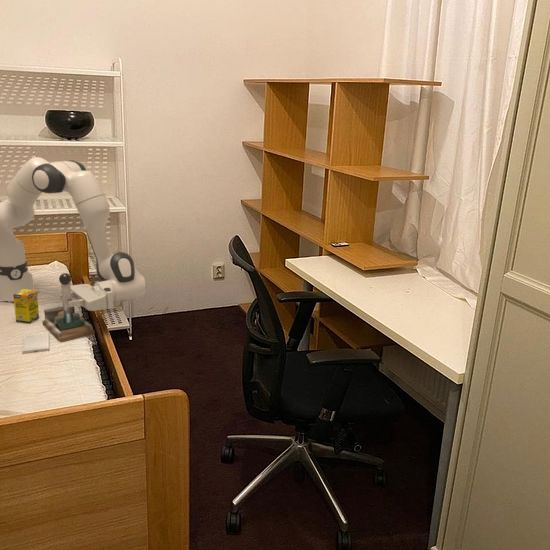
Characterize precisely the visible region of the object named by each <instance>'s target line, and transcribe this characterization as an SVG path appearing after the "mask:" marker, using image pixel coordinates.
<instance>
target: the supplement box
mask: <svg viewBox="0 0 550 550" xmlns="http://www.w3.org/2000/svg"><path fill="white" fill-rule="evenodd" d="M13 297H14V301H13V304H14V305H13V306H14V315H15V322H17V323H23V324H31V323H33V322H35V321H36V320H38V319H39V318H40V313H39V312H40V311H39V302H38V293H37V291H36V290H27V289H22V290H21V291H19V292H17V293H14V294H13Z"/></svg>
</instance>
